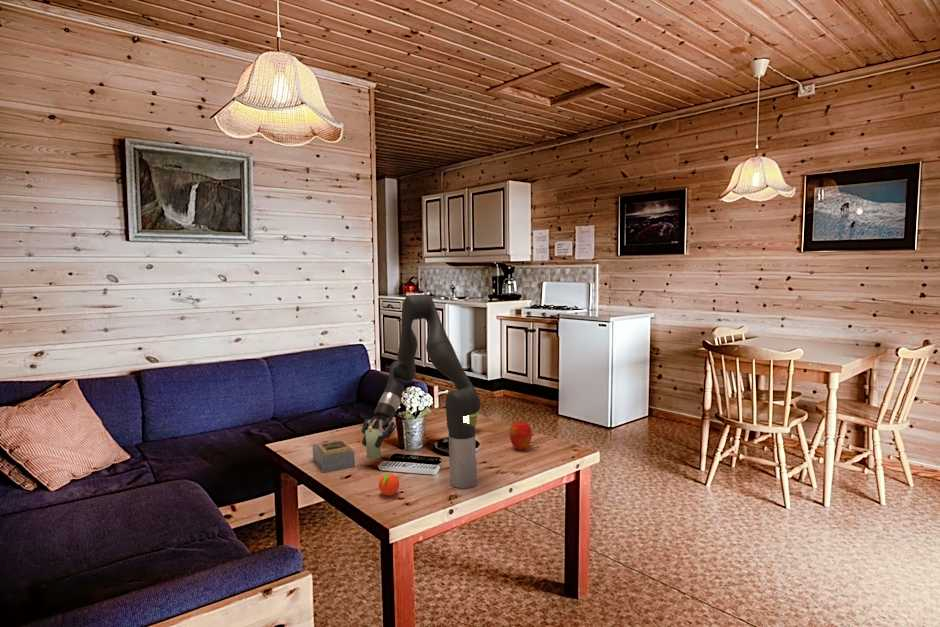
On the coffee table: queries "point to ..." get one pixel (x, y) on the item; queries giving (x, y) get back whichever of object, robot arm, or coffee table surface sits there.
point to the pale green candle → (372, 443)
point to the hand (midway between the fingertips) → (370, 445)
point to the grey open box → (333, 455)
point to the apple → (520, 435)
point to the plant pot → (473, 419)
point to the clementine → (389, 484)
